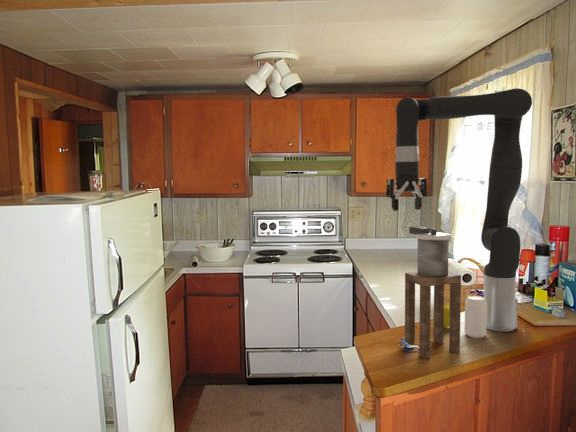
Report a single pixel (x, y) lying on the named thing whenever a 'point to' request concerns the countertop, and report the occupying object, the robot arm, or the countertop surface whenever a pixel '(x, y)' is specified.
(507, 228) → the robot arm
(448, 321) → the lemon
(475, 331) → the beverage can
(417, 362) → the countertop surface
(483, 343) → the countertop surface
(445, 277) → the stand
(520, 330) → the countertop surface
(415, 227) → the cooker lid
